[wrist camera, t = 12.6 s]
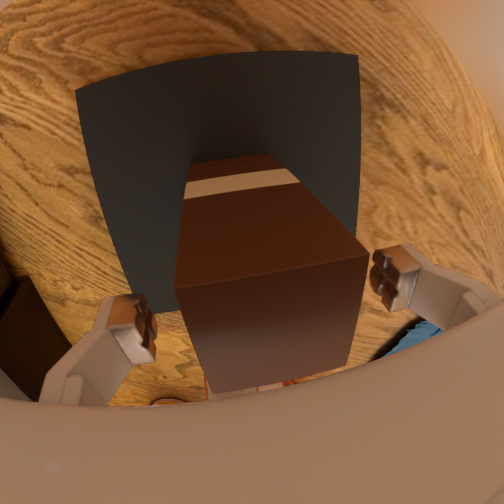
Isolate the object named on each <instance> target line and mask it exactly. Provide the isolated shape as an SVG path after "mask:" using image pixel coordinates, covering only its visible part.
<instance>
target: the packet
mask: <svg viewBox="0 0 504 504" xmlns="http://www.w3.org/2000/svg"><path fill="white" fill-rule="evenodd" d="M183 201H184V202H183V209H182V216H181V223H180V231H179V239H178V247H177V256H176V266H175V276H174V286H173V290H174V293H175V296H176V299H177V302H178V305H179V308H180V311H181V314H182V316H183V319H184V322H185V325H186V328H187V330H188V333H189V336H190V339H191V341H192V344H193V347H194V349H195V352H196V354H197V357H198V359H199V362H200V365H201V367H202V370H203V372H204V374H205V377H206V379H207V382H208V384H209V387H210V389H211V391H212V393H213V394H218V393H225V392H231V391H237V390H244V389H249V388H255V387H260V386H265V385H270V384H275V383H280V382H284V381H289V380H293V379H298V378H302V377H306V376H310V375H314V374H317V373H321V372H325V371H329V370H332V369H336V368H339V367H342V366H345V365H346V363H347V360H348V356H349V352H350V348H351V345H352V341H353V337H354V332H355V328H356V324H357V319H358V315H359V310H360V306H361V301H362V296H363V291H364V285H365V280H366V274H367V269H368V263H369V256H370V254H369V252H368V251H367V250H366V249H365V248H364V247H363V246H362V244H361V243H360V242H359V241H358V240H357V239H356V238H355V237H354V236H353V235H352V234H351V233H350V232H349V230H348V229H347V228H346V227H345V226H344V225H343V224H342V223H341V222H340V221H339V220H338V219H337V218H336V217H335V216H334V215H333V214H332V213H331V212H330V211H329V210H328V209H327V208H326V207H325V206H324V205H323V204H322V203H321V202H320V201H319V200H318V199H317V198H316V197H315V196H314V195H313V194H312V193H311V192H310V191H309V190H308V189H307V188H306V187H305V186H304V185H303V184H302V183H301V182H300V181H299V180H298V179H297V178H296V177H295V176H294V175H293V174H292V173H291V172H289V171H288V170H287V169H286V168H285V167H284V166H283V165H282V164H281V163H279V162H278V161H277V160H276V159H275V158H274V157H273V156H272V155H271V154H269V153H267V154H258V155H250V156H242V157H234V158H227V159H221V160H214V161H208V162H202V163H196V164H190V165H189V170H188V176H187V182H186V187H185V194H184V200H183Z"/></svg>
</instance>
